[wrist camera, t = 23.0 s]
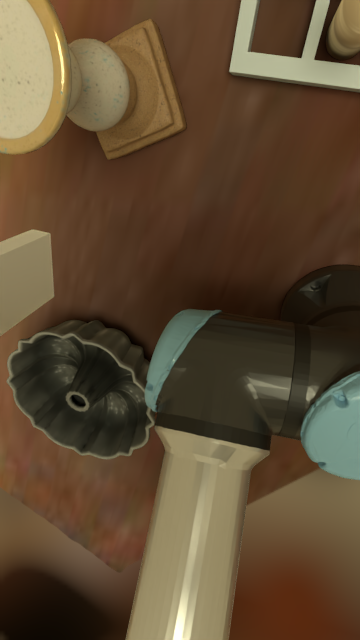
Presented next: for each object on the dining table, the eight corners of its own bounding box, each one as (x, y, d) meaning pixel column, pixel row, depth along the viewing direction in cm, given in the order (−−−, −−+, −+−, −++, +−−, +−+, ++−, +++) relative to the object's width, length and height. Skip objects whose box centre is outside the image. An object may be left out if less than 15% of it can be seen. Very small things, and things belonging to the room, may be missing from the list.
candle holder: (188, 128, 41) (101, 125, 21) (112, 160, 45) (-23, 183, 25) (157, 20, 37) (9, -118, 17) (76, 66, 41) (-122, -1, 21)
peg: (376, 9, 32) (422, -48, 22) (361, 61, 34) (396, 31, 24) (333, 7, 33) (357, -50, 23) (320, 58, 35) (338, 27, 25)
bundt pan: (26, 373, 70) (-9, 407, 61) (62, 274, 56) (24, 299, 47) (135, 439, 71) (116, 480, 62) (197, 357, 57) (183, 396, 49)
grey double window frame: (415, -24, 31) (425, -36, 29) (373, 94, 35) (379, 91, 33) (251, -38, 33) (250, -50, 31) (232, 75, 37) (229, 71, 35)
